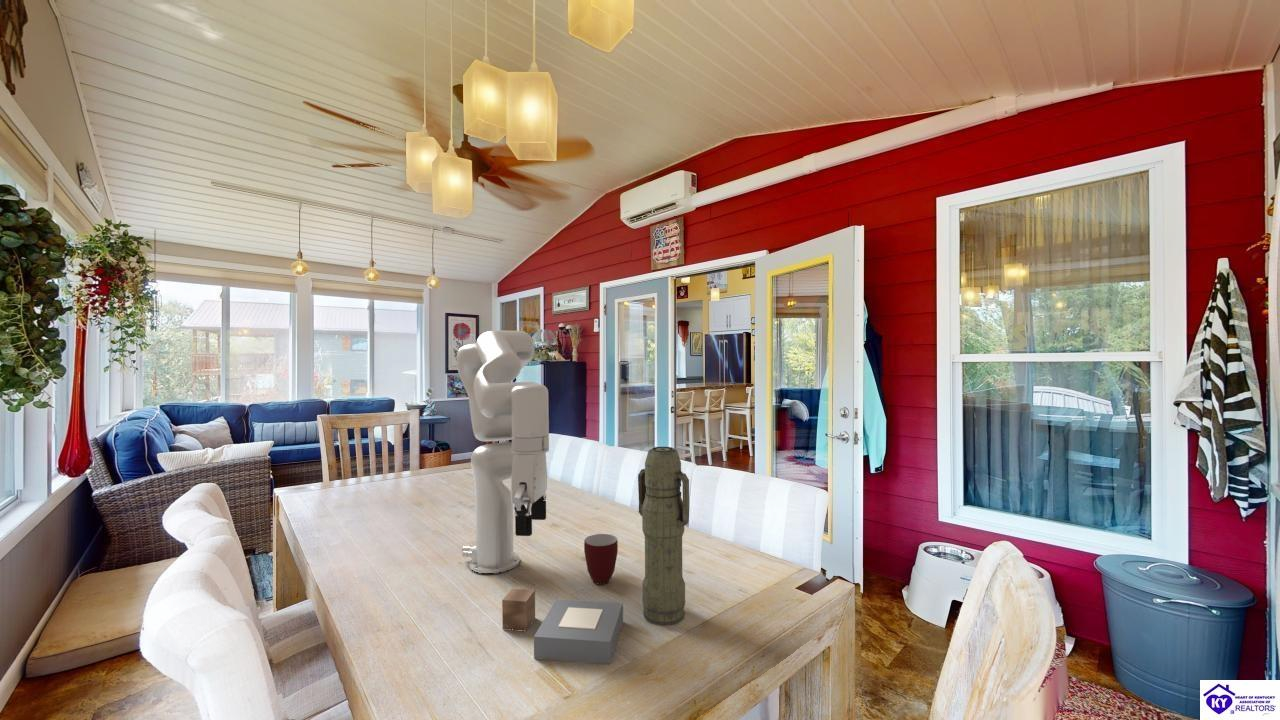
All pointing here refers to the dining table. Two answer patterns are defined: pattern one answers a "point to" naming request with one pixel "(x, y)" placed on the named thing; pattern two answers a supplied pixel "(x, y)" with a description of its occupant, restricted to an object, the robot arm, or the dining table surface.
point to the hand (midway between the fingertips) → (531, 527)
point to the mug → (601, 556)
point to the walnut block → (518, 609)
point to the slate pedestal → (579, 631)
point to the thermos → (663, 534)
